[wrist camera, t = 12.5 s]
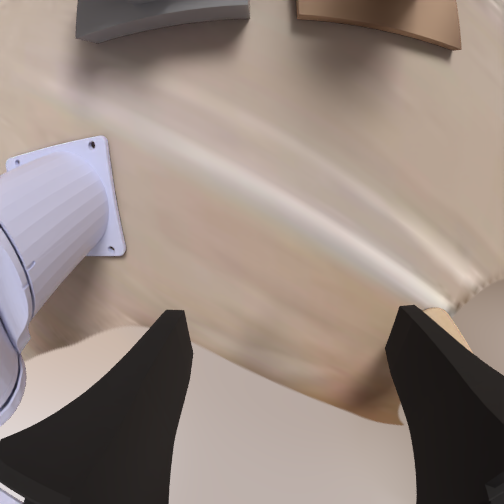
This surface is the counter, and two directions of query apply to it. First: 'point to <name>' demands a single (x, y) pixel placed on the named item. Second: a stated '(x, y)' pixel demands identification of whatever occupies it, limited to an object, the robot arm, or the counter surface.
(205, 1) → the switch base
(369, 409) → the counter surface
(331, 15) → the walnut board
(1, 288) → the robot arm
